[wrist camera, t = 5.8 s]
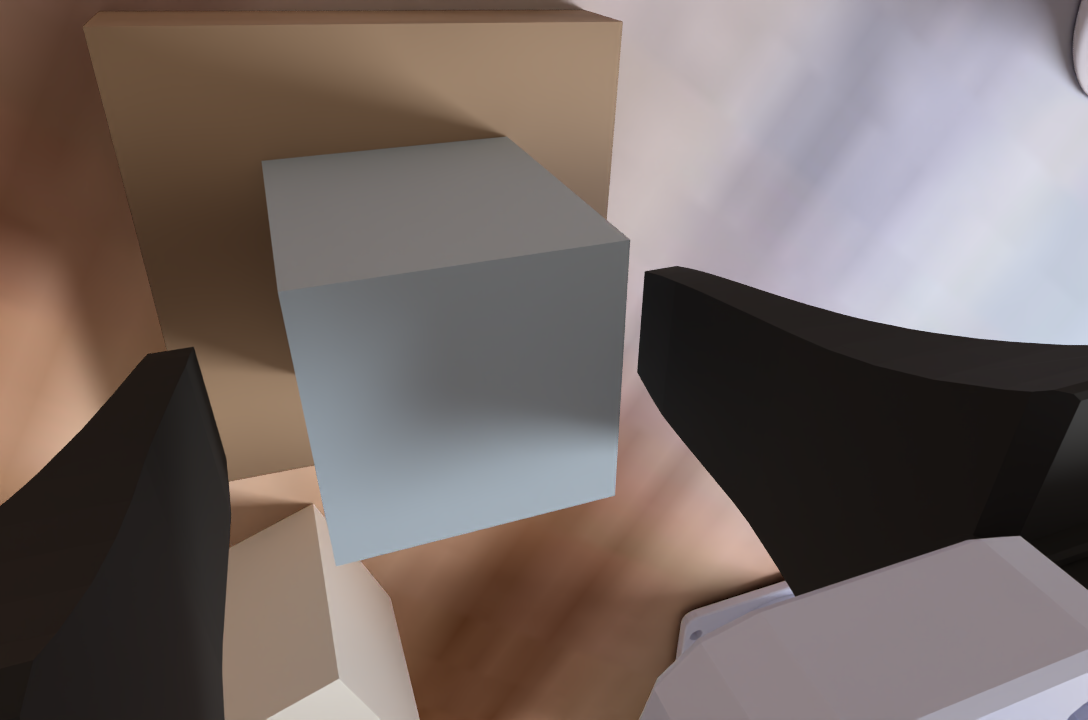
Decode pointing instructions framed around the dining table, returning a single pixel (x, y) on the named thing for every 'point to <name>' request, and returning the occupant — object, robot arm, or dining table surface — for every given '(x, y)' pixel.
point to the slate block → (447, 337)
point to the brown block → (316, 129)
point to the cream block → (309, 632)
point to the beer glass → (1081, 46)
